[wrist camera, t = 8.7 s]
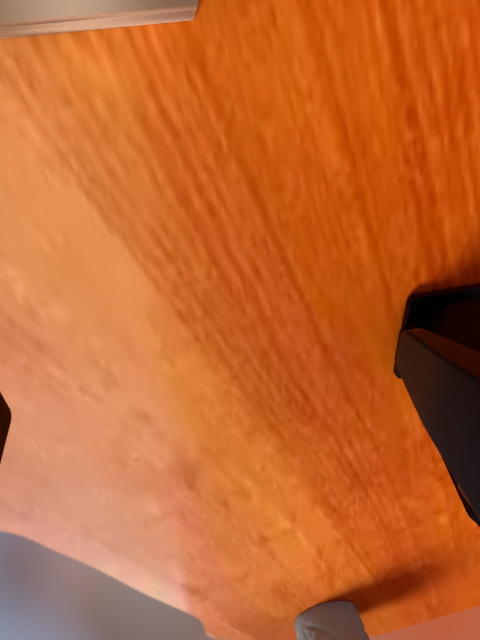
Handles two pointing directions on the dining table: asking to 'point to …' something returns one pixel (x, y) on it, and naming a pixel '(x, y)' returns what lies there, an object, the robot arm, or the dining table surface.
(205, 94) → the dining table surface
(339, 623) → the gray tapered pot
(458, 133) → the dining table surface
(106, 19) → the base
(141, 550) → the dining table surface
